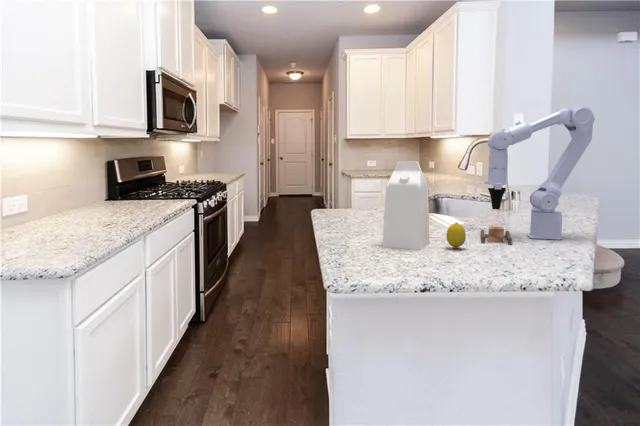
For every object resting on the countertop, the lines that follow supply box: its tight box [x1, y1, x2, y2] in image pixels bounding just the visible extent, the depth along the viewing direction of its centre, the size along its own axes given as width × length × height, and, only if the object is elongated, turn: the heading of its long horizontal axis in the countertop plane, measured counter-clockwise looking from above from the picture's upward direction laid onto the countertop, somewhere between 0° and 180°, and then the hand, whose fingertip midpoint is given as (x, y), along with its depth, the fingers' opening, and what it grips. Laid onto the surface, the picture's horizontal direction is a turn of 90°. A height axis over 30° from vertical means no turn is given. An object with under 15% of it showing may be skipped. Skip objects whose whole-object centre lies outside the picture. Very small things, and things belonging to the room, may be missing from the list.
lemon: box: [446, 222, 467, 250], centre depth 144 cm, size 6×6×8 cm
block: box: [487, 225, 505, 244], centre depth 156 cm, size 4×4×4 cm
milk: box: [381, 160, 430, 251], centre depth 149 cm, size 12×12×26 cm
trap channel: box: [480, 229, 513, 246], centre depth 159 cm, size 9×16×2 cm, turn 163°
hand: (495, 209), depth 163 cm, fingers closed
